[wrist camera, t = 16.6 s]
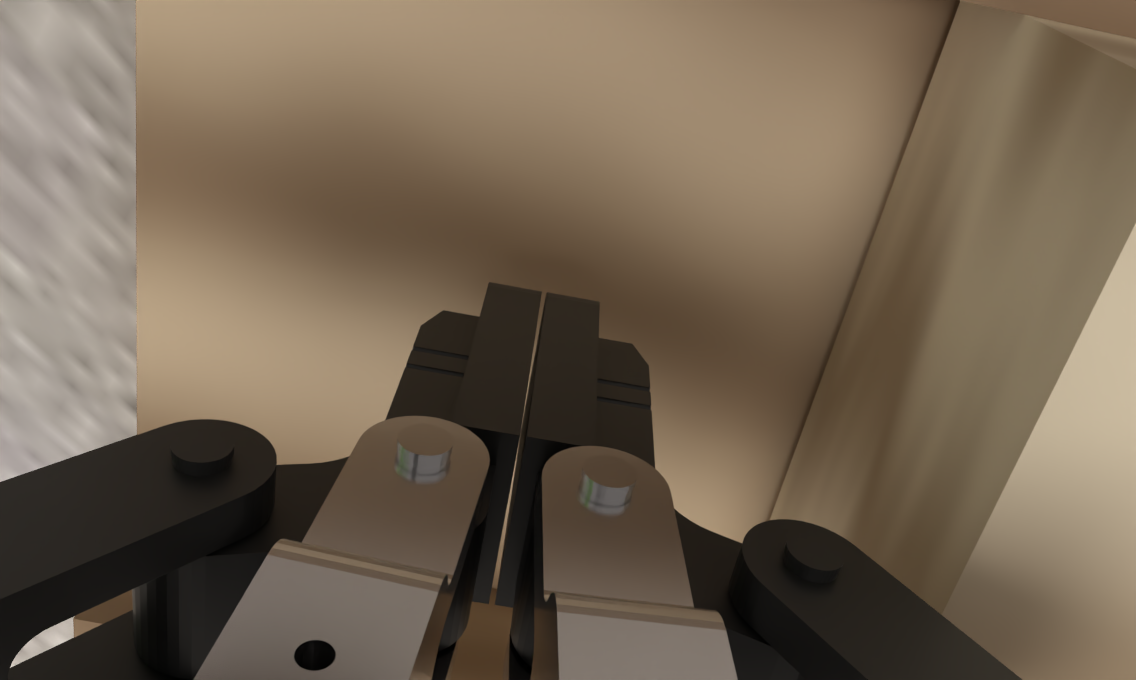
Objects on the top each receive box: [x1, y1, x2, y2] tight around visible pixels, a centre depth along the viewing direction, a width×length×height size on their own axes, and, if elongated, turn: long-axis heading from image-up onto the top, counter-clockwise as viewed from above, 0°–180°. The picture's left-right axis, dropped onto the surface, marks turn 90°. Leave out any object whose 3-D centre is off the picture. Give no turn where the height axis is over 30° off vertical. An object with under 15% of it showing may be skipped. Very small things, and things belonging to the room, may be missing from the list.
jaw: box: [770, 1, 1136, 680], centre depth 13 cm, size 12×2×6 cm, turn 169°
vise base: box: [73, 0, 1136, 680], centre depth 14 cm, size 14×22×7 cm, turn 79°
